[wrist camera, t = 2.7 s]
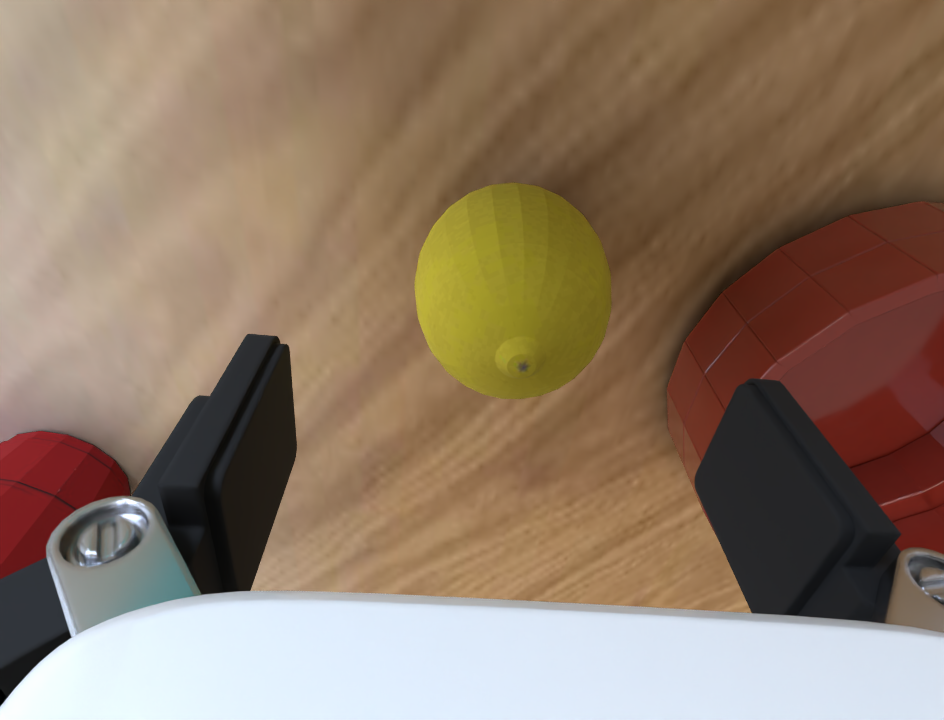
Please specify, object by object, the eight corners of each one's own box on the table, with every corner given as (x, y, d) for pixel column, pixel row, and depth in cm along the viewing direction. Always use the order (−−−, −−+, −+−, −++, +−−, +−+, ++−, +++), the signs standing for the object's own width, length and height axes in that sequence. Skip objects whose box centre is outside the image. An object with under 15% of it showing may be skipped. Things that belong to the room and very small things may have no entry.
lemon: (551, 318, 22) (587, 472, 15) (408, 282, 21) (380, 429, 14) (611, 178, 18) (689, 294, 12) (447, 129, 18) (433, 224, 11)
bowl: (1041, 112, 17) (1218, 156, 13) (1044, 417, 24) (1161, 508, 20) (610, 315, 21) (643, 397, 17) (719, 527, 28) (761, 621, 24)
